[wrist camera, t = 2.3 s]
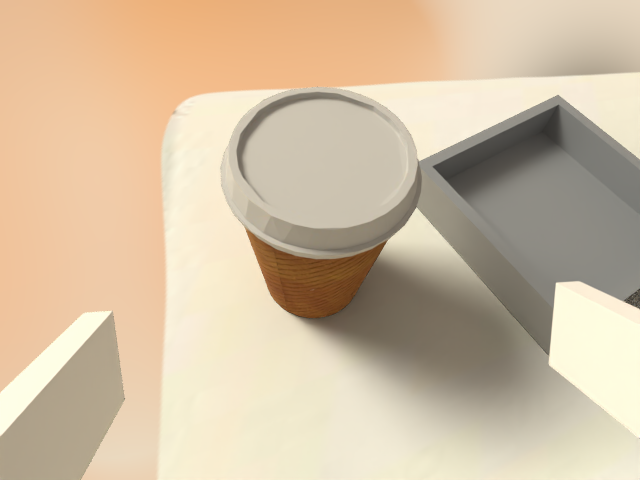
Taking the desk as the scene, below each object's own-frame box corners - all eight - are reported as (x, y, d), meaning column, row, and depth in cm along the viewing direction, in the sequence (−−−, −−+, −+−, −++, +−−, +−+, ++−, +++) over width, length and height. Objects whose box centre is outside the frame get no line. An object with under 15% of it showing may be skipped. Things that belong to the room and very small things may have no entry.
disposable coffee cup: (229, 336, 28) (196, 228, 18) (252, 211, 33) (236, 72, 23) (383, 349, 28) (435, 249, 18) (383, 222, 34) (423, 89, 23)
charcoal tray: (538, 127, 40) (558, 94, 37) (685, 253, 34) (723, 226, 31) (405, 194, 35) (416, 162, 32) (548, 354, 29) (577, 334, 26)
